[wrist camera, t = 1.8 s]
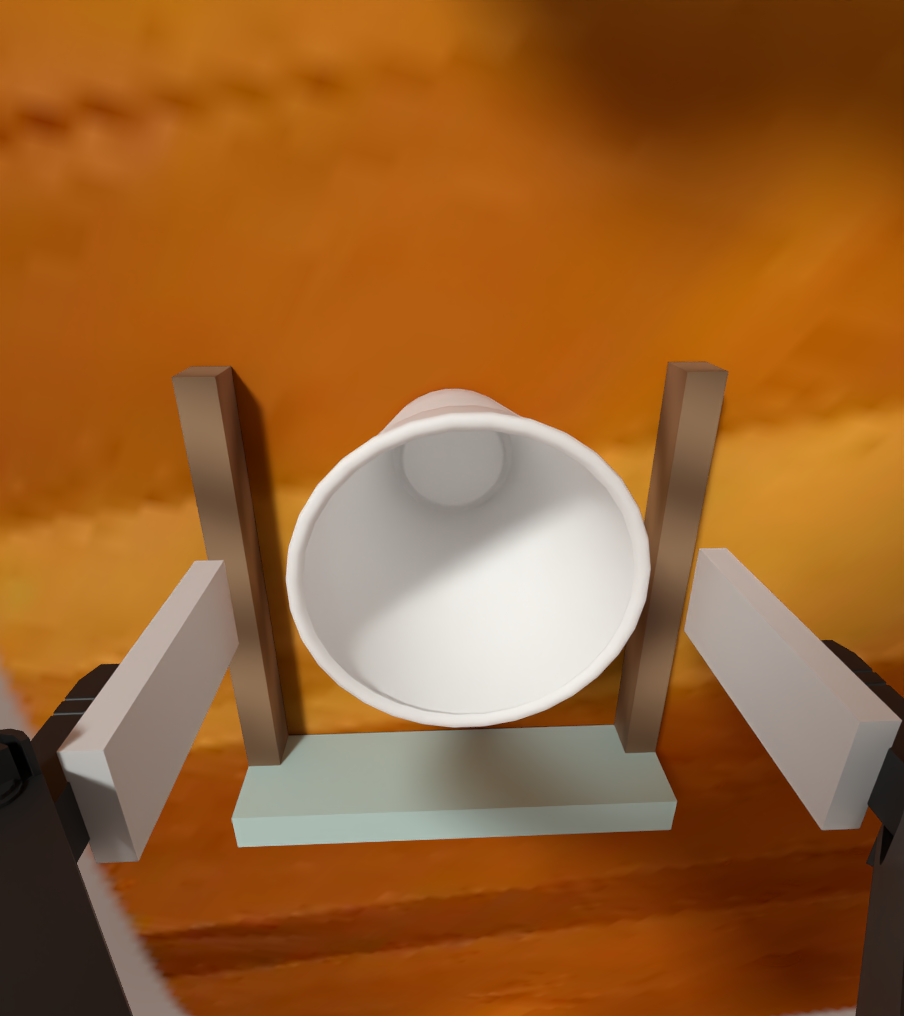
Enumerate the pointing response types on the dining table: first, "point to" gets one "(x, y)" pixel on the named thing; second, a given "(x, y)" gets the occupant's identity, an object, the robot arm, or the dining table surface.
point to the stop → (452, 787)
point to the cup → (467, 565)
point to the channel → (234, 540)
